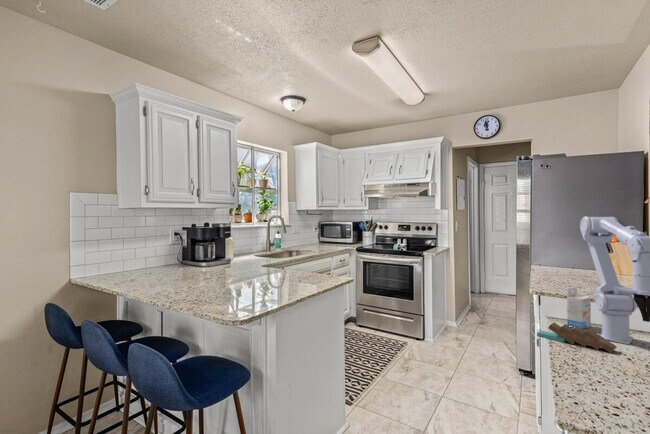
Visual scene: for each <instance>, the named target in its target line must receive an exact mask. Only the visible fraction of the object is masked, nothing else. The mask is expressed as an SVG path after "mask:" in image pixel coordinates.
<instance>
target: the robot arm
mask: <svg viewBox="0 0 650 434" xmlns="http://www.w3.org/2000/svg"><path fill="white" fill-rule="evenodd" d="M579 230H580V233H581V235H582V238H583V241H585V242H586V243H587V245H588V250H589V252H590V255H591V259H592V261H593V264H594V267H595V271H596V274H597V278H598V280H599V283H600V286H599V287H597V288H596V289H595V291H594V292H593V295H594V304H595V307H596V308H597V309H598V311H599V312H601V333H600V334H599V335H600V336H602V337H603V338H605V339H606V340H608V341H609V342H611V341H612V342H615V343H619V344H620V343H621V344H625V345H629V344H631V342H632V341H633V339H634V336H630V316H632V314H633V313H634V312H636V309H637V308H638V309H639V312H640V314H641V317H642V322H647V323H650V235H647V234H646V233H645V232H643V231H640V230H638V229H636V227H635V226H634V225H628V226H624V225H623V224H621V223H620V222H619V220H618V218H617V217H615V216H587V215H586V216H585V215H584V216H583V217H582V218H581V220H580V223H579ZM614 236H615V238H616V240H617V242H619V243H621V244H622V245H624V246H626V247H627V250H628V253H629V258H630V260H631V261H632V287H626V286H623V285H622V284H620V283H619V282H620V281H619V279H618V276H617V273H616V270H615V267H614V264H613V262H612V259H611V255H610V253H609V250H608V247H607V244H606V243H609V242H611V241H612V240H613V238H614Z"/></svg>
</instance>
